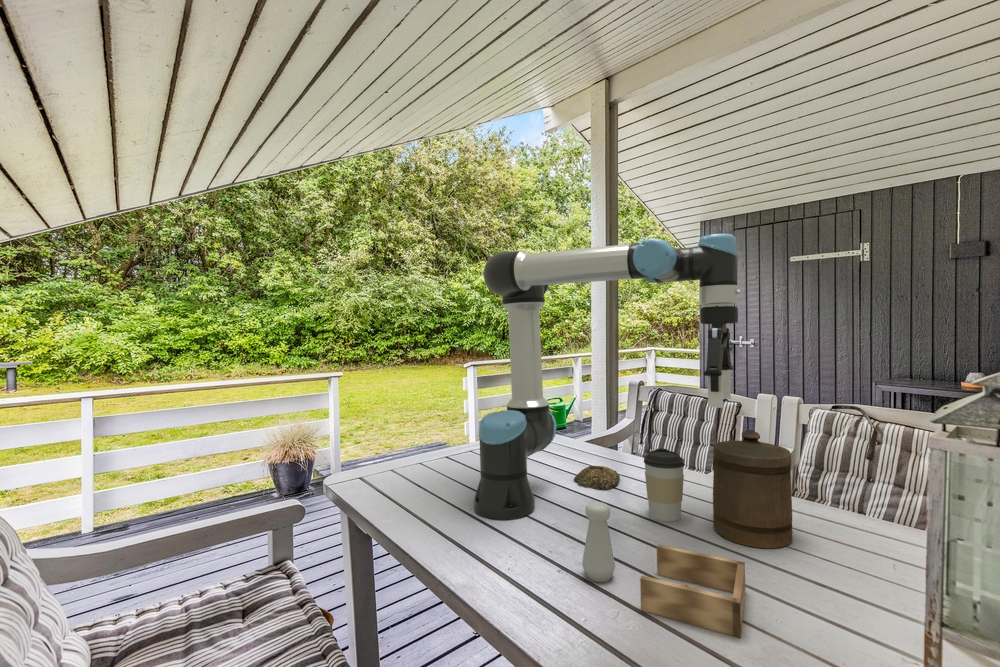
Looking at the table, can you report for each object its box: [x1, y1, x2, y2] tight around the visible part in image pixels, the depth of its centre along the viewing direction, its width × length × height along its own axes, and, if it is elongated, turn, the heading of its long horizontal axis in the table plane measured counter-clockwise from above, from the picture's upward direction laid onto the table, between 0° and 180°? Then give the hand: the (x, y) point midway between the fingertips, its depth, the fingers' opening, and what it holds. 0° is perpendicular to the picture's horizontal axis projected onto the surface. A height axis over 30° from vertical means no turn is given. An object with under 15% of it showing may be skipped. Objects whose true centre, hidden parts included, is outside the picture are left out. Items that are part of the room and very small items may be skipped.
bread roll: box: [573, 465, 621, 491], centre depth 134 cm, size 13×12×5 cm
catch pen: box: [639, 544, 746, 638], centre depth 76 cm, size 14×13×5 cm
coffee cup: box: [643, 448, 685, 523], centre depth 110 cm, size 9×9×15 cm
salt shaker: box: [581, 501, 616, 583], centre depth 84 cm, size 6×6×13 cm
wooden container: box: [712, 429, 793, 549], centre depth 99 cm, size 15×15×22 cm
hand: (720, 402), depth 103 cm, fingers open, 13 cm apart
